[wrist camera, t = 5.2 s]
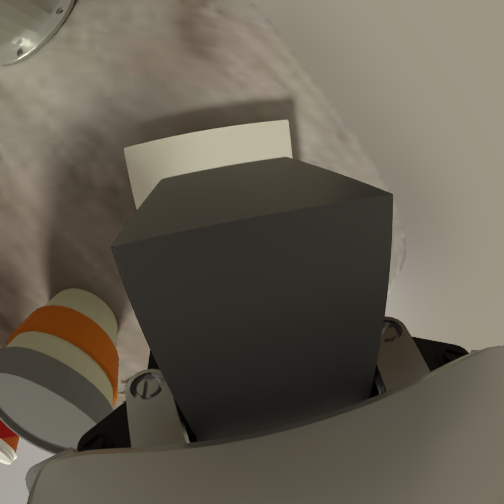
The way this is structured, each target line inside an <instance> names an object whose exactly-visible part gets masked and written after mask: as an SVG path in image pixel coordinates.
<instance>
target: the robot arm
mask: <svg viewBox="0 0 504 504" xmlns="http://www.w3.org/2000/svg"><path fill="white" fill-rule="evenodd" d="M74 2H75V0H0V65H1V66H7V65H12V64H16V63H19V62H21V61H23V60H25V59H27V58H28V57H30V56H31V55H33V54H34V53H36V52H37V51H38V50H39V49H40V48H41V47H43V46H44V45H45V44H46V43H47V42H48V41H49V40H50V39H51V38H52V37H53V36H54V35H55V33H56V32H57V31H58V30H59V28H60V27H61V26H62V24H63V23H64V21H65V20H66V18H67V17H68V15H69V13H70V11H71V9H72V7H73V5H74ZM125 394H126V401H125V402H124V403H123V404H122V405H120V406H119V407H118V408H117V409H115V410H114V411H113V412H112V413H110V414H109V415H108V416H106V417H105V418H104V419H103V420H101V421H100V422H99V423H98V424H96V425H95V426H94V427H92V428H91V429H90V430H89V431H87V432H86V433H85V434H84V435H83V436H82V437H81V438H80V440H79V442H78V446H77V448H75V449H74V448H73V447H72V446H71V447H70V448H68V449H66V450H64V451H62V452H60V453H58V454H56V455H54V456H52V457H50V458H48V459H46V460H44V461H42V462H40V463H38V464H36V465H34V466H32V467H31V468H30V469H29V471H28V472H27V474H26V485H27V488H28V491H29V497H28V502H27V504H504V346H496V347H490V348H485V349H482V350H471V352H470V354H469V353H468V352H467V351H466V350H465V349H464V348H462V347H460V346H457V345H453V344H448V343H443V342H437V341H432V340H427V339H422V338H416V337H411V335H410V333H409V332H408V330H407V328H406V326H405V325H404V324H403V323H402V322H401V321H399V320H398V319H395V318H392V317H386V316H384V323H383V330H382V336H381V342H380V348H379V353H378V359H377V364H376V369H375V374H374V378H373V383H372V387H371V392H370V396H369V399H367V400H364V401H361V402H359V403H356V404H353V405H350V406H347V407H345V408H342V409H339V410H336V411H333V412H330V413H326V414H323V415H320V416H317V417H313V418H310V419H307V420H303V421H299V422H296V423H292V424H288V425H284V426H280V427H276V428H272V429H268V430H263V431H258V432H254V433H249V434H244V435H238V436H233V437H227V438H221V439H215V440H208V441H201V442H199V441H198V439H197V438H196V436H195V434H194V433H193V431H192V429H191V427H190V426H189V424H188V422H187V421H186V419H185V417H184V415H183V413H182V412H181V410H180V408H179V406H178V404H177V402H176V401H175V399H174V397H173V395H172V393H171V391H170V389H169V387H168V385H167V383H166V381H165V379H164V377H163V375H162V373H161V371H160V369H159V367H158V365H157V363H156V361H155V358H154V356H153V354H152V352H151V350H150V356H149V363H148V369H147V370H143V371H141V372H138V373H137V374H135V375H134V376H132V377H131V378H130V380H129V381H128V383H127V385H126V389H125Z"/></svg>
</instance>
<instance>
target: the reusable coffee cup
mask: <svg viewBox="0 0 504 504" xmlns="http://www.w3.org/2000/svg"><path fill="white" fill-rule="evenodd" d="M117 334H118V325H117V320H116V318H115V316H114V314H113V312H112V310H111V309H110V308H109V306H108V305H107V304H106V303H105V302H104V301H103V300H102V299H100V298H99V297H98V296H96V295H94V294H93V293H90V292H88V291H86V290H82V289H74V288H71V289H65V290H63V291H60V292H59V293H58V294H57V295H55V296H54V297H53V298H52V299H51V300H50V301H49V302H48V303H47V304H46V305H45V306H43V307H41V308H38V309H36V310H35V311H34V312H33V313H32V314H31V315H30V316H29V317H28V318H27V319H26V320H25V321H24V322H23V323H22V324H21V325H20V326H19V327H18V328H17V329H16V330H15V331H14V332H13V333H12V334H11V335H10V337H9V339H8V341H7V346H6V348H3V349H0V420H1V421H2V422H3V423H4V424H5V425H6V426H7V427H8V428H9V429H11V430H12V431H13V432H14V433H16V434H17V435H18V436H20V437H21V438H23V439H24V440H26V441H27V442H29V443H30V444H32V445H34V446H36V447H38V448H40V449H42V450H44V451H47V452H49V453H52V454H55V455H56V454H58V453H60V452H62V451H64V450H66V449H68V448H70V447H71V446H72V447H73V448H74V449H75V448H77V446H78V442H79V440H80V438H81V437H82V436H83V435H84V434H85V433H86V432H87V431H89V430H90V429H91V428H92V427H94V426H95V425H96V424H98V423H99V422H100V421H101V420H103V419H104V418H105V417H106V416H108V415H109V414H110V413H112V412H113V406H114V405H115V403H116V399H117V387H118V366H119V358H118V354H117V350H116V344H117Z"/></svg>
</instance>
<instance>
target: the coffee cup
mask: <svg viewBox="0 0 504 504" xmlns="http://www.w3.org/2000/svg"><path fill="white" fill-rule="evenodd" d="M19 437H20V436H18V435H17V434H16V433H14V432H13V431H12V430H11V429H9V428H8V427H7V426H6V425H5V424H4V423H3V422H2V421H1V420H0V462H1V463H4V464H8V465H10V464H11V463H12V462H13V460H15V459H16V458H17V455H16V449H17V444H18V441H19Z"/></svg>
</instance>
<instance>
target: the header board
mask: <svg viewBox="0 0 504 504" xmlns="http://www.w3.org/2000/svg"><path fill="white" fill-rule="evenodd" d="M124 154H125V159H126V164H127V169H128V174H129V179H130V183H131V188H132V192H133V197H134V201H135V205H136V209H137V210H138V208H139V207H140V206H141V204H142V203H143V202H144V200H145V199H146V198H147V197H148V195H149V194H150V193H151V191H152V190H153V189H154V188H155V186H156V185H157V184H158V183H159V181H160V180H161V179H163V178H168V177H172V176H177V175H182V174H186V173H191V172H196V171H201V170H206V169H212V168H217V167H223V166H228V165H234V164H240V163H246V162H252V161H259V160H266V159H272V158H280V157H289V158H292V148H291V139H290V131H289V122H288V120H278V121H268V122H259V123H250V124H243V125H235V126H228V127H222V128H215V129H209V130H203V131H198V132H192V133H187V134H182V135H177V136H172V137H167V138H163V139H158V140H154V141H150V142H145V143H141V144H137V145H133V146H129V147H126V148H124ZM292 159H293V158H292Z"/></svg>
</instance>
